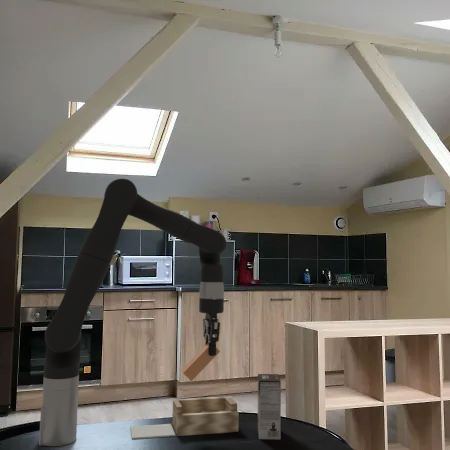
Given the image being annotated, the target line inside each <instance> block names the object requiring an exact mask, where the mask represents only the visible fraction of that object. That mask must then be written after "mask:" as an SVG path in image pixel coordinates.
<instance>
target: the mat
mask: <svg viewBox="0 0 450 450" xmlns="http://www.w3.org/2000/svg"><path fill="white" fill-rule="evenodd" d="M129 429H130V435H131V440H139V439H140V440H141V439H143V440H144V439H155V438H167V437H170V436H171V437H176V432H175V430H174V428H173V426H172V423H165V424H164V423H162V424H148V425H135V426H132V425H131V426H130V427H129Z"/></svg>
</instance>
